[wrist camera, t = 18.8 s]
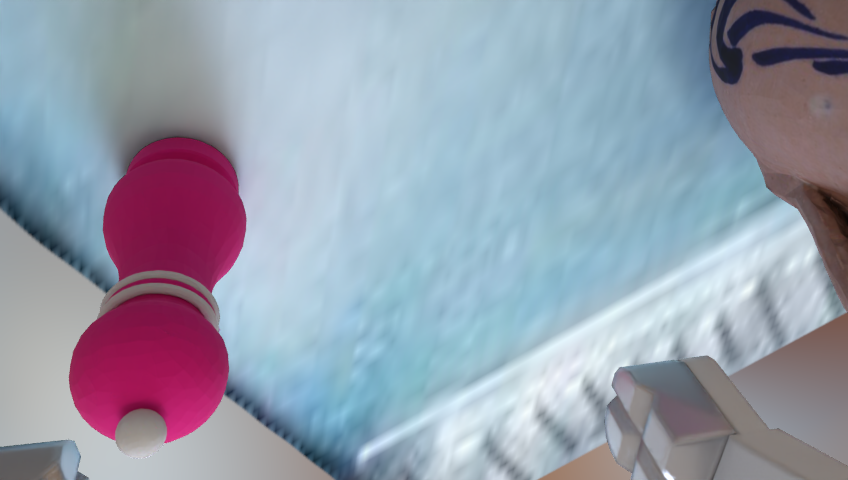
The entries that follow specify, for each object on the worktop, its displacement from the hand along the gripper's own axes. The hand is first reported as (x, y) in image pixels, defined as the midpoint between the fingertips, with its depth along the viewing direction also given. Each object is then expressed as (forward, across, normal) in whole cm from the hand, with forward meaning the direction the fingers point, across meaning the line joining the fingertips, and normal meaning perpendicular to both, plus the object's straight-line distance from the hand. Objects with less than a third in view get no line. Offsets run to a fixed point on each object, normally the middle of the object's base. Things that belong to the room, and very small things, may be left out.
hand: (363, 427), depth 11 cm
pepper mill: (+31, +7, +12) cm, 34 cm away
